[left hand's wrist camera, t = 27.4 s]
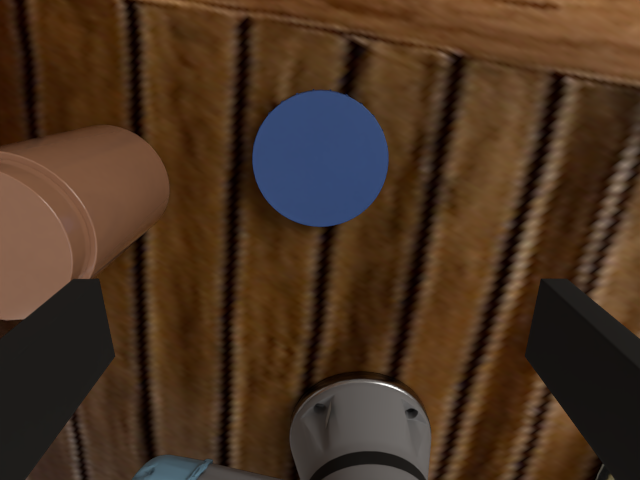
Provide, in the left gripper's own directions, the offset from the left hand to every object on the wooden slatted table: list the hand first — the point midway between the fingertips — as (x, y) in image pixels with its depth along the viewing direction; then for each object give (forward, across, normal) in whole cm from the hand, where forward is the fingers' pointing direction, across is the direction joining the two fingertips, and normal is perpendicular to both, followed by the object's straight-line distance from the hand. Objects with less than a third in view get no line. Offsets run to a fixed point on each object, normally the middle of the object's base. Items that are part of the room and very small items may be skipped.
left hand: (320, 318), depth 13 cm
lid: (+24, 0, 0) cm, 24 cm away
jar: (+26, +18, +2) cm, 32 cm away
